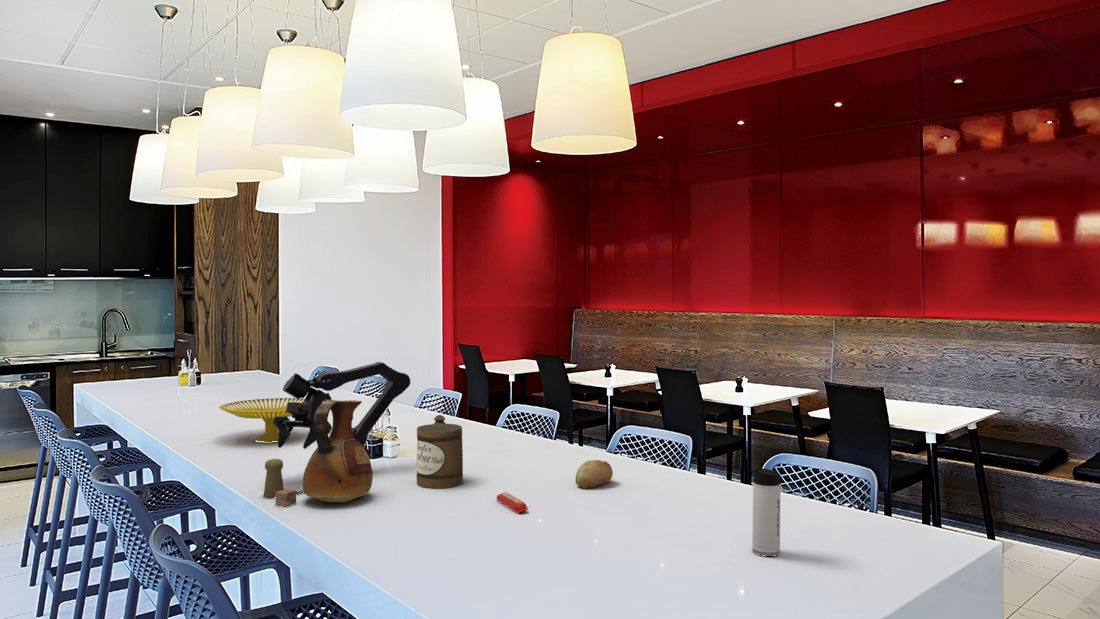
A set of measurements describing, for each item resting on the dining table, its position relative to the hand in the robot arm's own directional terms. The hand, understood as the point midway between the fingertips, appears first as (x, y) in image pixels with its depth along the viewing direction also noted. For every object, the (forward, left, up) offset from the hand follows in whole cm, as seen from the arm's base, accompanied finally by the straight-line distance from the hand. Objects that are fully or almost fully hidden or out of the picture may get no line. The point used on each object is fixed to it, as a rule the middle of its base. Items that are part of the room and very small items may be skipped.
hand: (291, 447), depth 228 cm
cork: (+7, +3, -13) cm, 15 cm away
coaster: (-1, +3, -13) cm, 13 cm away
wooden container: (-37, +27, -13) cm, 48 cm away
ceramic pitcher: (-4, +21, -13) cm, 25 cm away
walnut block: (+9, +15, -13) cm, 22 cm away
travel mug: (-49, +134, -13) cm, 143 cm away
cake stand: (-33, -79, -13) cm, 86 cm away
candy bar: (-34, +63, -14) cm, 73 cm away
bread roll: (-70, +65, -13) cm, 97 cm away
